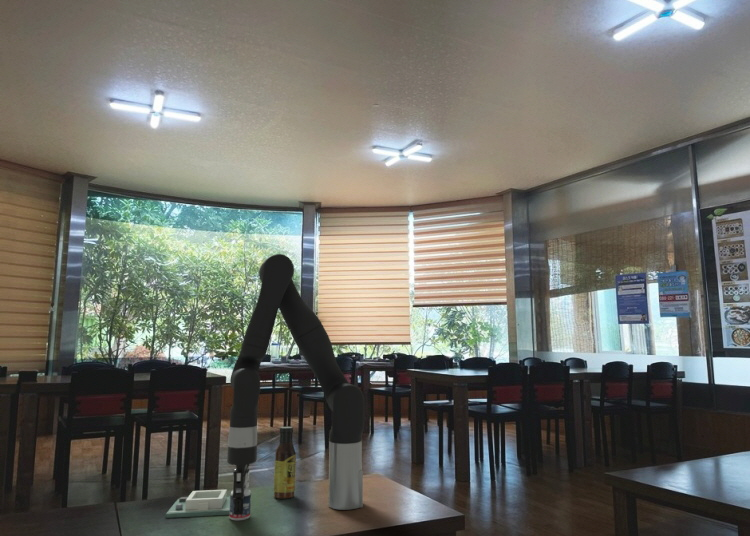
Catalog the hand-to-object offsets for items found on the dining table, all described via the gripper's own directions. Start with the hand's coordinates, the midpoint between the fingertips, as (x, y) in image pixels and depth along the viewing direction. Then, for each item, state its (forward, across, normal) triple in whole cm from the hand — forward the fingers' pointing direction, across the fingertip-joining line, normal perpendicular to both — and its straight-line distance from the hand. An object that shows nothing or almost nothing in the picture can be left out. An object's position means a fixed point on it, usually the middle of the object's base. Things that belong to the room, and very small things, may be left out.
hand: (240, 509), depth 131 cm
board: (+2, +10, +10) cm, 14 cm away
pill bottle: (+2, 0, 0) cm, 2 cm away
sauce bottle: (+2, +18, -11) cm, 21 cm away
